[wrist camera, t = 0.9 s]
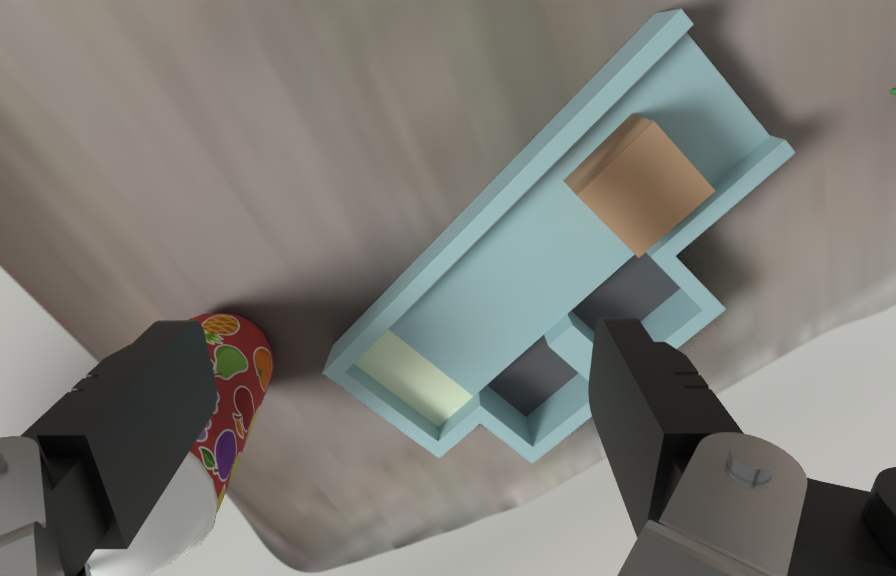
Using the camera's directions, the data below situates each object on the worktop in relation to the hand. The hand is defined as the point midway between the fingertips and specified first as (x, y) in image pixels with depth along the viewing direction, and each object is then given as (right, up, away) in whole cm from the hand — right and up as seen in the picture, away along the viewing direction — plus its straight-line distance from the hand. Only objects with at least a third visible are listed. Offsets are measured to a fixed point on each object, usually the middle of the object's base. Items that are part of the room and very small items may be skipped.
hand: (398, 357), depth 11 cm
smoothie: (-14, -3, +26) cm, 30 cm away
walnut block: (+11, +8, +20) cm, 24 cm away
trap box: (+8, +2, +24) cm, 26 cm away
